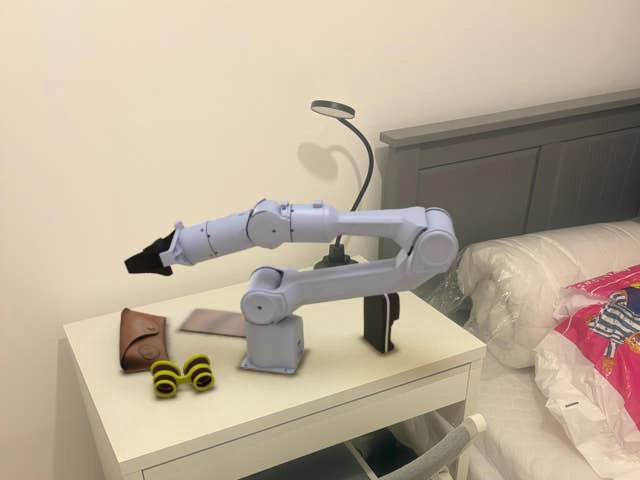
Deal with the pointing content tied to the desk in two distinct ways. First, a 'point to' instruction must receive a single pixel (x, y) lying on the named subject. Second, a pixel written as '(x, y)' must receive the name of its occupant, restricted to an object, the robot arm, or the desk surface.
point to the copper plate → (216, 323)
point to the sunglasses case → (141, 340)
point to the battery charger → (380, 320)
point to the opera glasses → (170, 376)
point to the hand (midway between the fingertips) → (136, 260)
